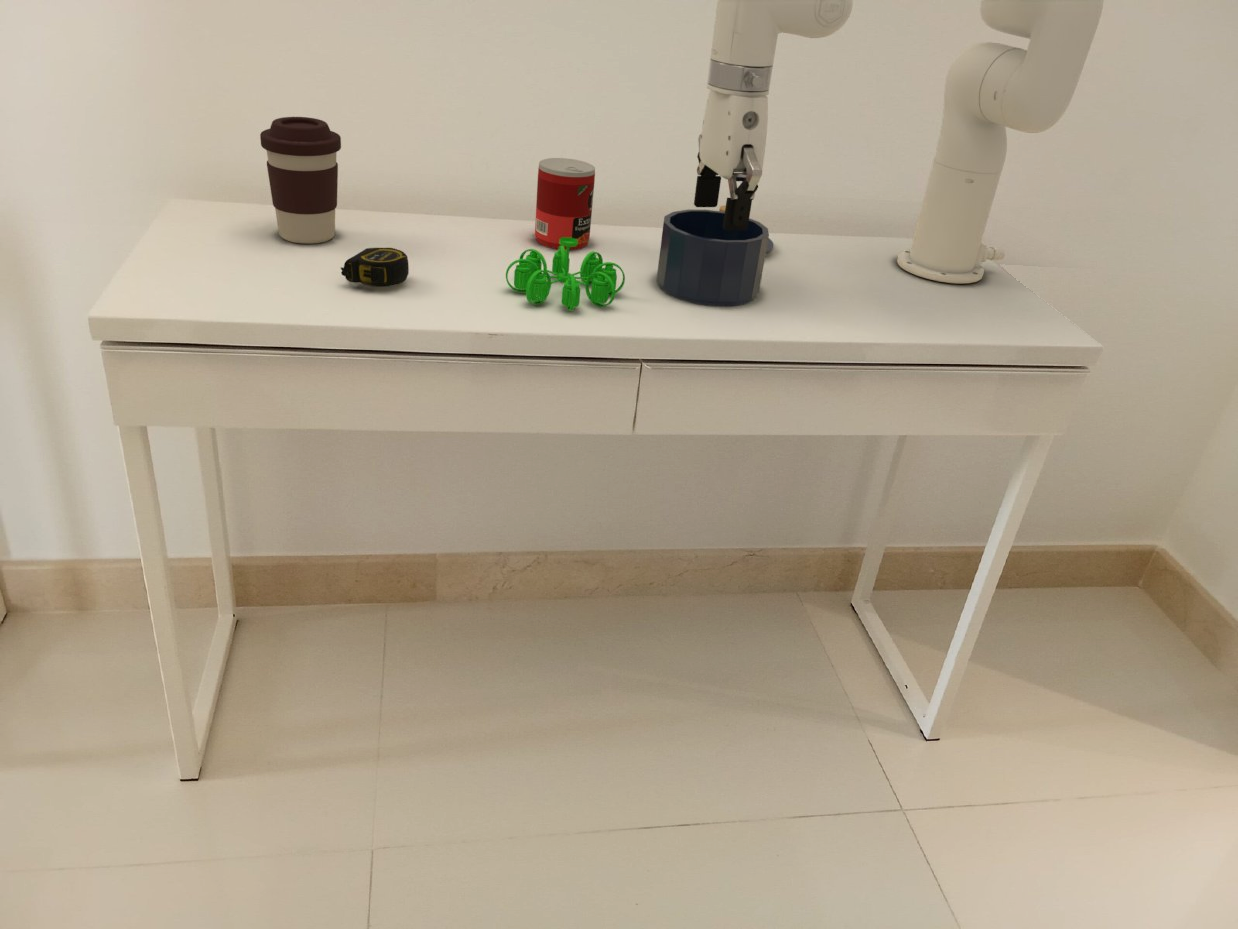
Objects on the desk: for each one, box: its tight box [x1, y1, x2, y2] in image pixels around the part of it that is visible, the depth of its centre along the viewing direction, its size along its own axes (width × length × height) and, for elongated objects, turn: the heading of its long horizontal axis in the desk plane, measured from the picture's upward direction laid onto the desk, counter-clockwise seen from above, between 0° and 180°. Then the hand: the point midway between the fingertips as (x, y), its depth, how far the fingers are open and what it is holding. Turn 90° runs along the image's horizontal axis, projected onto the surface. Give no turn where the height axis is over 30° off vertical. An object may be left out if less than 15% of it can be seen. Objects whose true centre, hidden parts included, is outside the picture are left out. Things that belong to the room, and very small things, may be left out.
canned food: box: [534, 157, 596, 251], centre depth 140 cm, size 8×8×11 cm
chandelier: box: [505, 237, 626, 312], centre depth 124 cm, size 15×15×7 cm
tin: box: [656, 208, 770, 308], centre depth 130 cm, size 14×14×8 cm
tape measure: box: [340, 247, 410, 288], centre depth 121 cm, size 7×7×4 cm
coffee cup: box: [259, 116, 342, 244], centre depth 131 cm, size 10×10×15 cm
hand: (719, 217), depth 128 cm, fingers open, 9 cm apart
